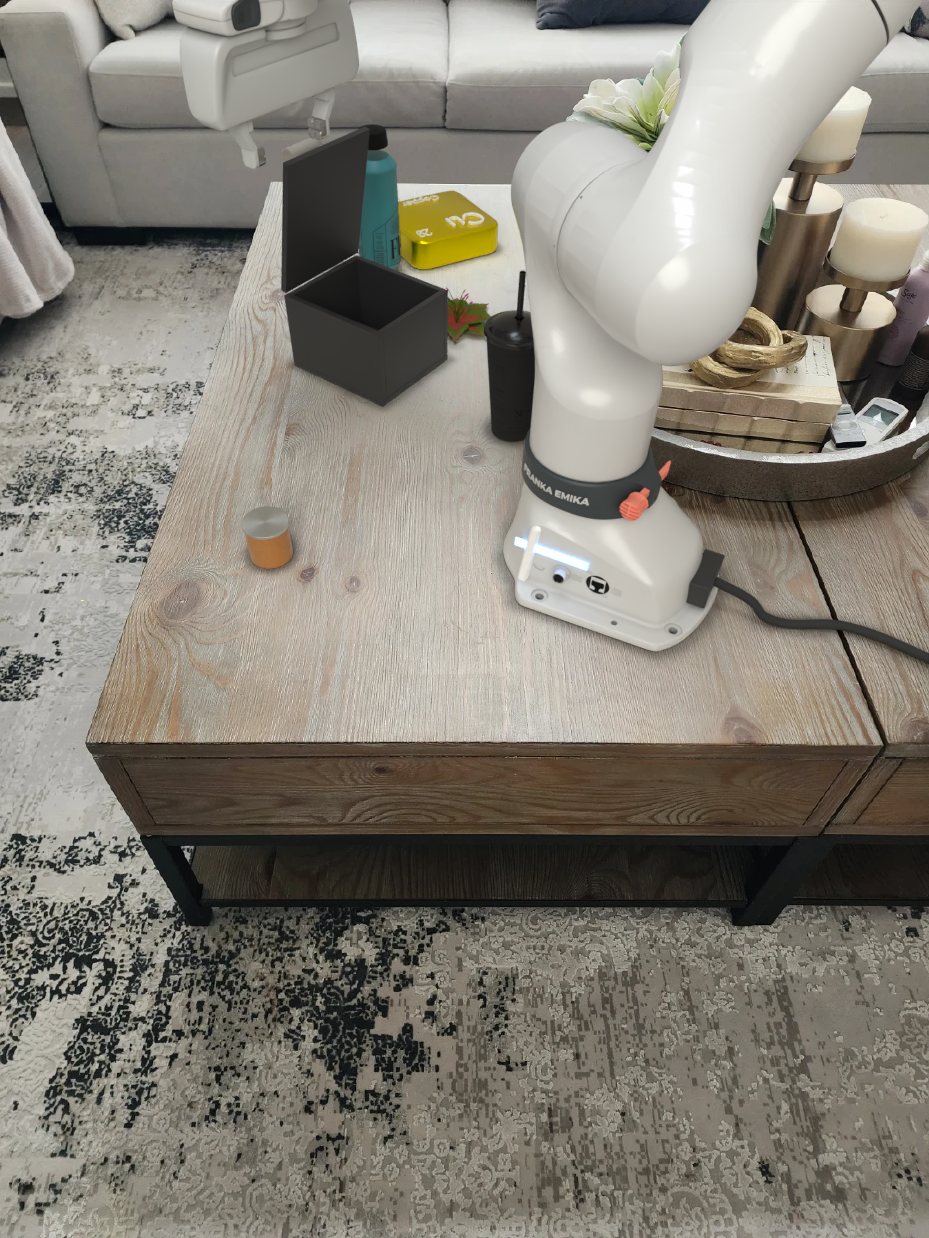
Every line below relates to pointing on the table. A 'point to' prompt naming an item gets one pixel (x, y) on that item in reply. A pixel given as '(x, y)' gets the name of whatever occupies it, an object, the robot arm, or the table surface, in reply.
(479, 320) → the lily flower
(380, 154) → the beverage bottle
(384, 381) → the black tray bin
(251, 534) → the coffee pod
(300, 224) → the lid
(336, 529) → the table surface
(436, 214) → the element tile
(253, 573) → the table surface
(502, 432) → the drinking cup
